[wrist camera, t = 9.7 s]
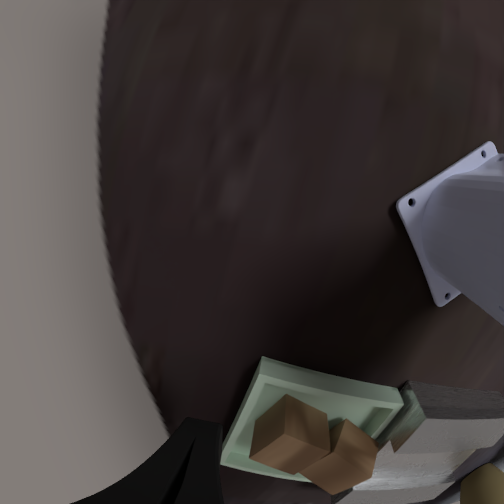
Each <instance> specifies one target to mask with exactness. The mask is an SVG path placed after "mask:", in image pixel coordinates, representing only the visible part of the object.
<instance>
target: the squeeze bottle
mask: <svg viewBox="0 0 504 504" xmlns="http://www.w3.org/2000/svg"><path fill="white" fill-rule="evenodd" d="M460 504H504V473H503V472H502V471H501V470H500V469H498V468H497V467H496V466H494V465H493V464H492V463H487V464H485V465H483V466H481V467H479V468H478V469H476V470H475V471H473V472H472V473H470V474H469V475H468V476H467V477H466V478H465V479H463V481H462V482H461V493H460Z"/></svg>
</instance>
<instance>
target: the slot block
mask: <svg viewBox="0 0 504 504" xmlns="http://www.w3.org/2000/svg"><path fill="white" fill-rule="evenodd" d="M399 393H400V396H401V398H402V400H403V403H404V405H403V406H402V408H401V409H400V410H399V412H398V413H397V414H396V415H395V417H394V418H393V419H392V420H391V421H390V423H389V424H388V425H387V426H386V427H385V429H384V430H383V431H382V432H381V433H380V434H379V436H378V437H377V438H376V439H375V440H376V441H377V442H378V443H379V447H378V451H377V456H376V461H375V465H374V470H373V474H372V478H370V479H368V480H366V481H364V482H362V483H360V484H358V485H355V486H353V487H351V488H349V489H346V490H344V491H342V492H339V493H337V494H335V495H332V494H331V504H407V503H414V502H421V501H427V500H432V499H434V498H436V497H437V496H438V495H439V494H441V493H442V492H443V491H445V490H446V489H447V488H448V487H450V486H451V485H452V484H453V483H454V482H456V480H455V478H454V475H453V471H454V470H455V469H456V468H458V467H459V466H460V465H461V464H462V463H463V462H464V461H465V460H466V459H467V458H468V457H469V456H470V455H471V454H472V453H473V452H474V451H475V450H476V449H479V448H485V447H491V446H493V445H494V444H495V443H496V442H497V441H498V440H499V439H500V438H501V436H502V435H503V434H504V397H503V396H502V395H501V394H500V392H498V391H485V390H474V389H465V388H456V387H448V386H441V385H434V384H427V383H421V382H415V381H409V380H407V382H406V383H405V385H404V386H403V388H402V389H401V391H400V392H399Z"/></svg>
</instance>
